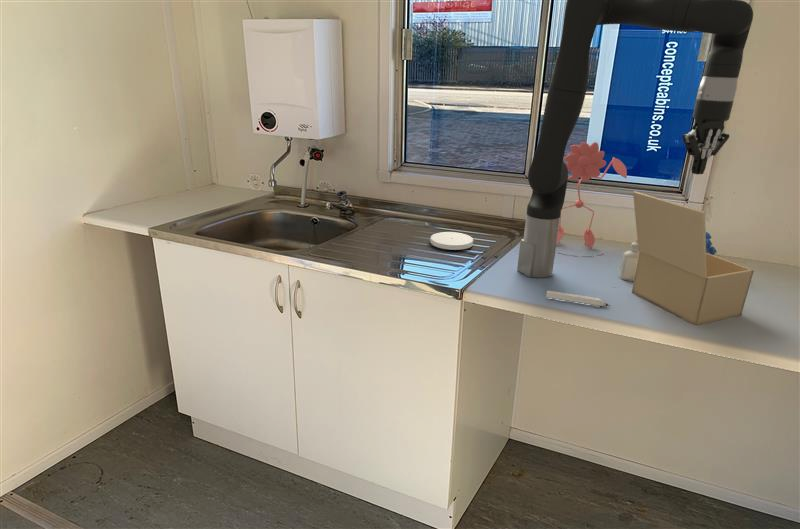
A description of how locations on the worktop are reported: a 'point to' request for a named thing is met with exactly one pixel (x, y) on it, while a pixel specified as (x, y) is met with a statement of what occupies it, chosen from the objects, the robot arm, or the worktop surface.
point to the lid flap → (671, 233)
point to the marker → (576, 298)
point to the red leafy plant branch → (587, 176)
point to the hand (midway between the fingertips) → (697, 173)
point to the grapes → (709, 245)
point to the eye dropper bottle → (630, 262)
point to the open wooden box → (694, 288)
